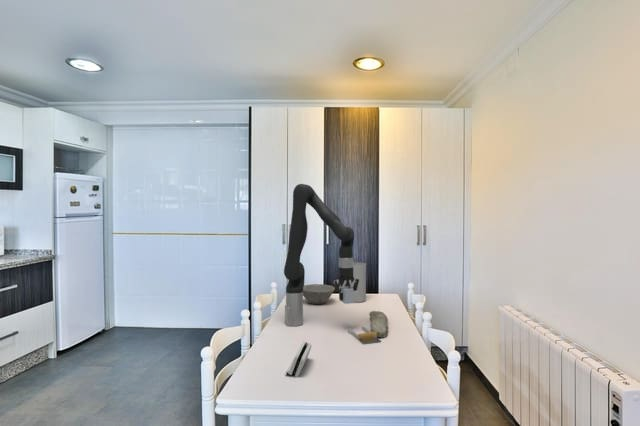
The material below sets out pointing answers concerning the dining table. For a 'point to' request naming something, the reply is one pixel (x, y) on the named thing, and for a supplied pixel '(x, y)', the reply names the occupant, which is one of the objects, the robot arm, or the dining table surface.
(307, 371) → the dining table surface
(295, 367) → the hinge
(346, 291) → the module
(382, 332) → the long grey stone
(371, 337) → the rail mount
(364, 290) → the cylinder vase
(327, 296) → the ceramic bowl
